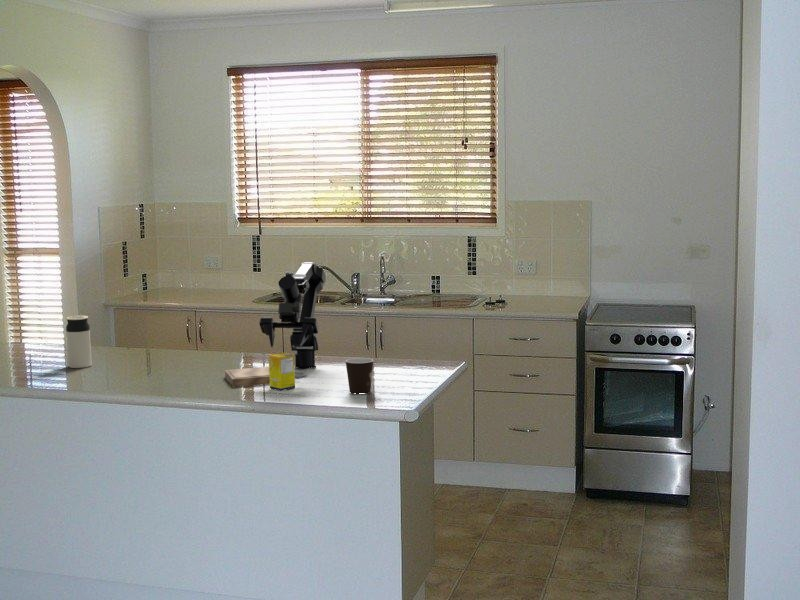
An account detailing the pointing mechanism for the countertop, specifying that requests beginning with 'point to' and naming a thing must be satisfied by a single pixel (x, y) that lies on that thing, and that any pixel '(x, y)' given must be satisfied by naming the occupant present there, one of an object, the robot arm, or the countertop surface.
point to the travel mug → (78, 342)
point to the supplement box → (281, 371)
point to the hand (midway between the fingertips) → (285, 346)
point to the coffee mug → (359, 374)
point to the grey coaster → (299, 374)
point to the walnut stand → (248, 376)
